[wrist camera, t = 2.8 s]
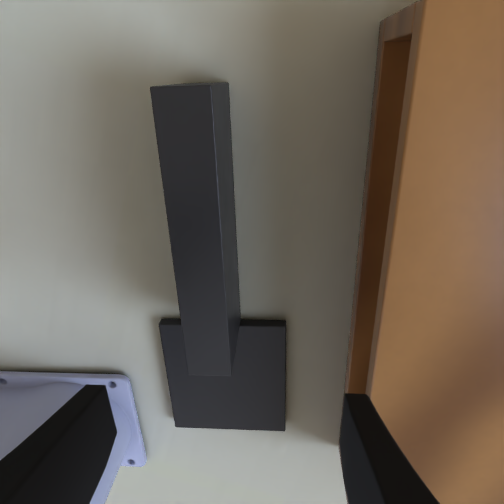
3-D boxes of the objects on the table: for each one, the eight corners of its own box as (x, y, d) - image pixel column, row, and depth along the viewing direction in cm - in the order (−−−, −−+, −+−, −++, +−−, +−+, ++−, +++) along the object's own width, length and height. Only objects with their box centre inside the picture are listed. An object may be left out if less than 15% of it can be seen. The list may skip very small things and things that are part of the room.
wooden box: (338, 447, 25) (351, 530, 20) (380, 20, 15) (424, -5, 10) (465, 452, 24) (507, 538, 20) (601, 10, 14) (754, -20, 9)
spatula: (177, 419, 25) (157, 486, 21) (124, 85, 16) (73, 89, 12) (285, 423, 24) (286, 492, 20) (288, 80, 16) (291, 82, 12)
